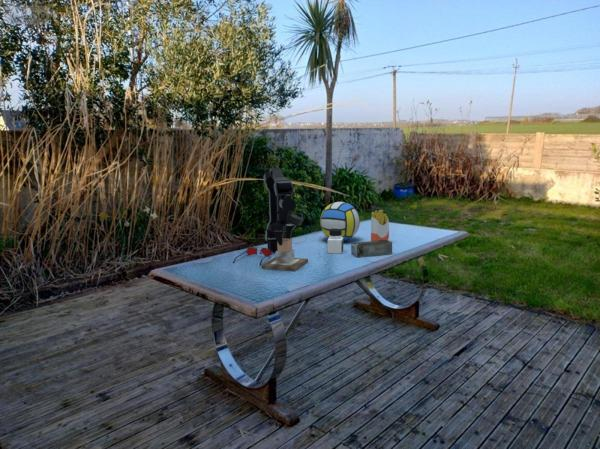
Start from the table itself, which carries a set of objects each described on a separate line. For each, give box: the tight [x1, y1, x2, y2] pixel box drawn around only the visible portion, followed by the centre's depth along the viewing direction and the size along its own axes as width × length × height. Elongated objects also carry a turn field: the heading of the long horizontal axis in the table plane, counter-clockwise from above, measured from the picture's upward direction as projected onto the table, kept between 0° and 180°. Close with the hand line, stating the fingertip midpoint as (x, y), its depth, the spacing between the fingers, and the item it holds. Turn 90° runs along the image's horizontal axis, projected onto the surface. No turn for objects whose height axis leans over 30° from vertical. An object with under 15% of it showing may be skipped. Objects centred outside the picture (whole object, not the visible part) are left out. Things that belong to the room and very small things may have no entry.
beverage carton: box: [350, 240, 393, 258], centre depth 207 cm, size 8×19×7 cm, turn 107°
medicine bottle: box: [327, 228, 344, 255], centre depth 213 cm, size 7×7×12 cm
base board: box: [260, 248, 309, 272], centre depth 191 cm, size 16×16×7 cm
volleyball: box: [319, 201, 361, 242], centre depth 238 cm, size 22×22×22 cm
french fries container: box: [370, 209, 390, 241], centre depth 229 cm, size 5×11×18 cm, turn 134°
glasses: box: [232, 246, 274, 266], centre depth 201 cm, size 14×16×5 cm
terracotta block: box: [277, 237, 293, 252], centre depth 190 cm, size 5×5×5 cm
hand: (284, 243), depth 189 cm, fingers open, 9 cm apart
